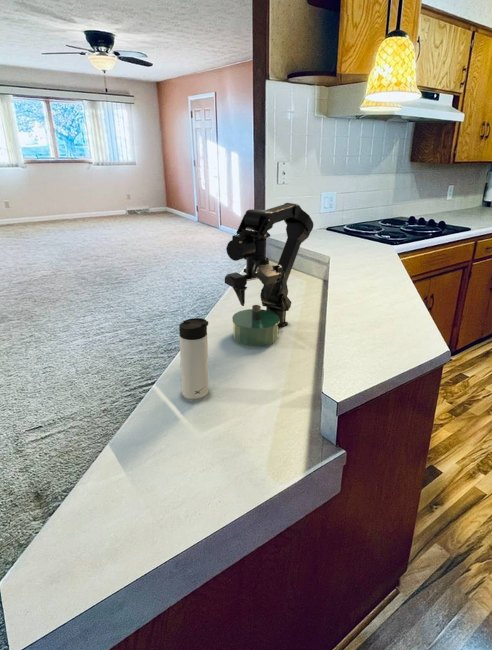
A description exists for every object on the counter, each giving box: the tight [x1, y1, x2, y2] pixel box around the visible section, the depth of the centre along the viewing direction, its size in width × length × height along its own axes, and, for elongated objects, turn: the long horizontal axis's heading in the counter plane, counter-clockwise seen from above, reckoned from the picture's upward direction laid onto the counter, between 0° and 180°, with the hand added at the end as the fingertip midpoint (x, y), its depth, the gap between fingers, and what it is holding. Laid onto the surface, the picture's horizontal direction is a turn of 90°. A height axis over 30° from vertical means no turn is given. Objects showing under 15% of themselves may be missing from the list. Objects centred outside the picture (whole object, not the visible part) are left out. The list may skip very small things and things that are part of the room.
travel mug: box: [178, 317, 209, 402], centre depth 96 cm, size 6×7×20 cm
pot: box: [232, 322, 279, 348], centre depth 129 cm, size 14×14×6 cm
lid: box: [231, 304, 280, 330], centre depth 127 cm, size 15×15×5 cm
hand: (254, 302), depth 127 cm, fingers open, 9 cm apart
